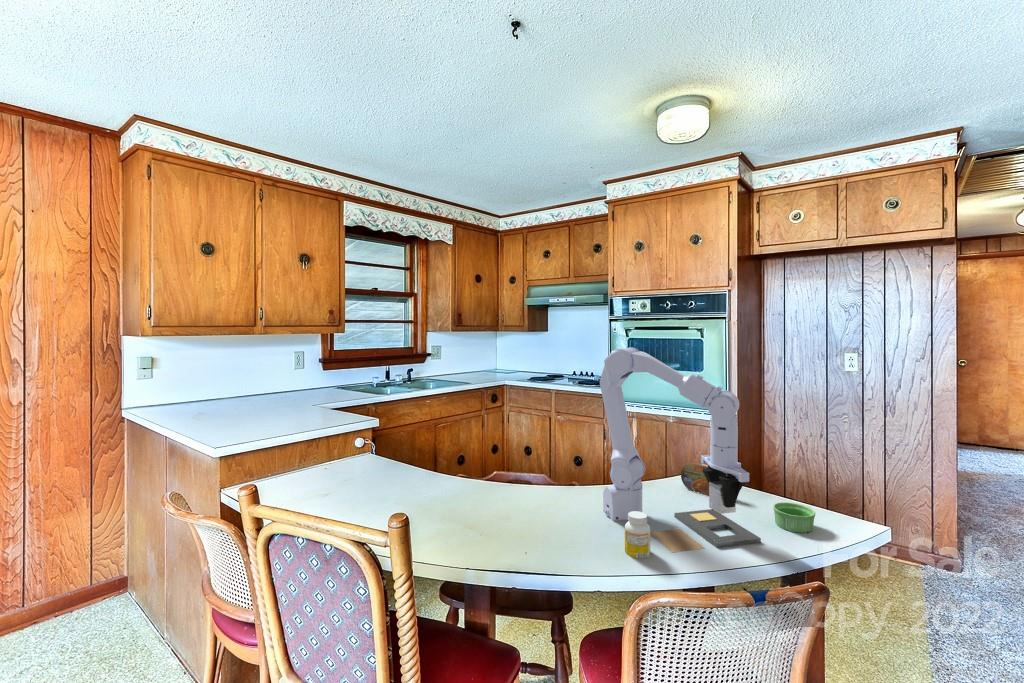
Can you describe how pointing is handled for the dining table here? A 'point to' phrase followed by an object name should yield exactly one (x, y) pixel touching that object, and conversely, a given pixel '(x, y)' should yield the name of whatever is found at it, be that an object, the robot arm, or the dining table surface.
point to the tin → (695, 478)
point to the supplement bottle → (637, 535)
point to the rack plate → (713, 520)
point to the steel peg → (718, 498)
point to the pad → (676, 540)
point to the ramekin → (794, 517)
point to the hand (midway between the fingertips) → (723, 503)
